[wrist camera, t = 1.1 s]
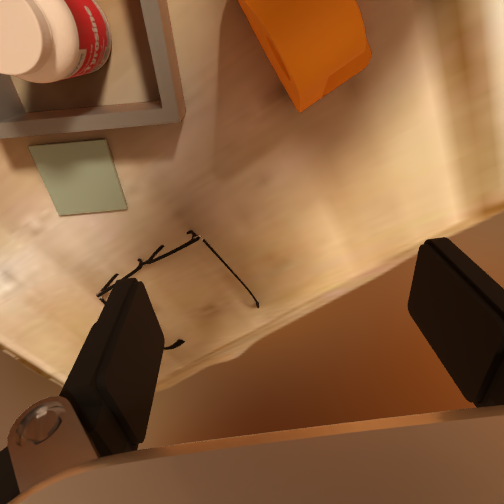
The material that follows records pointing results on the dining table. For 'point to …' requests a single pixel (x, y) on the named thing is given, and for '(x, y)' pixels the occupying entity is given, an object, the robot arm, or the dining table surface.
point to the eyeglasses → (155, 258)
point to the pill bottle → (52, 39)
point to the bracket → (310, 43)
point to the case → (111, 116)
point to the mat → (79, 176)
